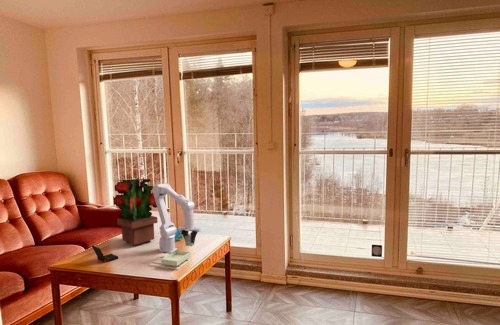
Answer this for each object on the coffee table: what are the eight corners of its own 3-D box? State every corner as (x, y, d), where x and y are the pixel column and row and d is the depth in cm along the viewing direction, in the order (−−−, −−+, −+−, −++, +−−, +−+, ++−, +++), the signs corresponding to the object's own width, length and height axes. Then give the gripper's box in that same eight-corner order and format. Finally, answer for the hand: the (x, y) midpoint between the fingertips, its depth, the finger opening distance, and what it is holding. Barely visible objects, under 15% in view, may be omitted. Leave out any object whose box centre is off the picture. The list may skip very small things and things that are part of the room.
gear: (166, 237, 240) (174, 226, 244) (170, 241, 244) (178, 230, 249) (177, 242, 234) (185, 230, 238) (181, 246, 238) (189, 234, 243)
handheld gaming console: (119, 259, 205) (118, 243, 205) (99, 265, 196) (98, 248, 195) (111, 255, 211) (110, 240, 211) (92, 261, 202) (91, 245, 201)
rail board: (149, 265, 193) (149, 263, 193) (163, 256, 206) (163, 255, 206) (177, 269, 187) (177, 267, 187) (190, 260, 200) (190, 258, 200)
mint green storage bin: (161, 265, 190) (161, 259, 189) (176, 256, 204) (176, 250, 204) (176, 268, 186) (176, 261, 186) (190, 258, 200) (190, 251, 200)
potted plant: (115, 243, 235) (112, 180, 231) (143, 235, 252) (140, 176, 248) (132, 250, 221) (128, 182, 217) (161, 241, 237) (158, 178, 233)
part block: (185, 245, 206) (185, 236, 205) (188, 243, 210) (188, 234, 209) (191, 246, 205) (190, 236, 204) (194, 244, 208) (194, 234, 208)
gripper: (175, 221, 205) (176, 243, 206) (196, 223, 200) (197, 245, 201) (181, 218, 211) (182, 239, 212) (201, 220, 206) (202, 241, 207)
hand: (189, 242), depth 207 cm, fingers closed on part block, 4 cm apart
